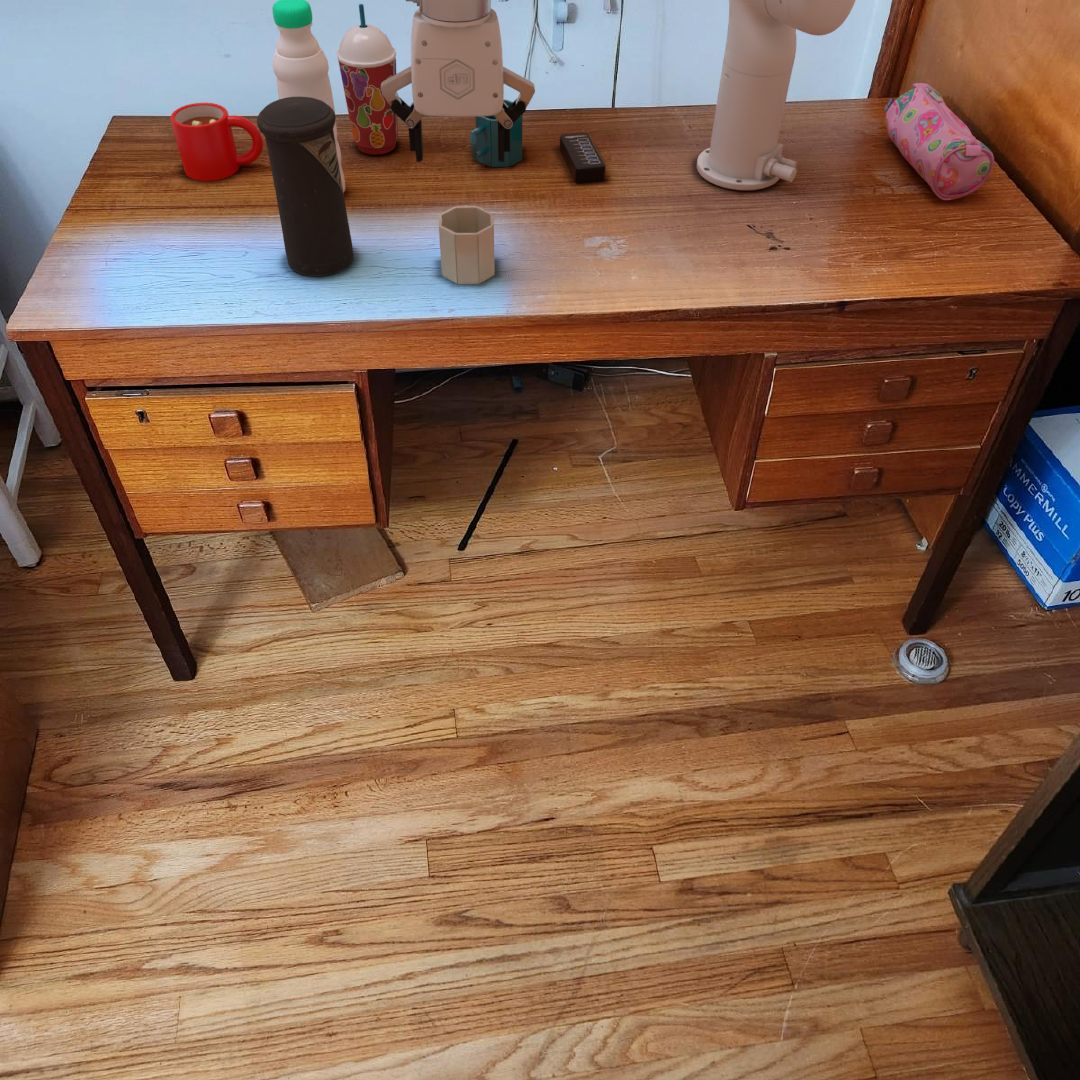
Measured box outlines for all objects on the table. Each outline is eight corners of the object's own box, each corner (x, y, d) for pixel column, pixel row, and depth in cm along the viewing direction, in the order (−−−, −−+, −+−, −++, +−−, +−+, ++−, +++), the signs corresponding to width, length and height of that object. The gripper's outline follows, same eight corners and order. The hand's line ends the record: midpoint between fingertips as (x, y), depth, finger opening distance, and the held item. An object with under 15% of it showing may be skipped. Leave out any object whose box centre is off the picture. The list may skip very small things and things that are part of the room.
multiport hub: (575, 183, 140) (576, 168, 138) (559, 148, 147) (559, 133, 145) (605, 181, 140) (606, 166, 139) (586, 146, 148) (587, 131, 146)
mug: (266, 178, 139) (255, 124, 133) (181, 182, 138) (166, 128, 132) (269, 152, 144) (259, 100, 138) (187, 156, 143) (173, 103, 137)
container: (360, 273, 123) (339, 118, 108) (289, 283, 121) (258, 127, 106) (349, 238, 129) (328, 86, 114) (281, 247, 127) (251, 94, 112)
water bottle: (301, 179, 139) (268, -9, 120) (349, 181, 139) (324, -7, 120) (291, 204, 134) (255, 12, 116) (341, 206, 134) (313, 14, 116)
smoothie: (408, 135, 149) (397, -5, 134) (398, 161, 143) (384, 18, 128) (356, 132, 149) (338, -8, 134) (343, 157, 144) (323, 14, 129)
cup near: (495, 283, 122) (494, 234, 117) (441, 284, 122) (438, 234, 117) (493, 244, 128) (492, 195, 123) (442, 244, 128) (439, 195, 123)
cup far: (496, 141, 148) (495, 95, 143) (530, 155, 145) (531, 108, 140) (455, 163, 143) (453, 116, 138) (490, 178, 140) (489, 131, 135)
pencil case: (874, 136, 152) (890, 78, 145) (930, 135, 152) (949, 77, 146) (921, 205, 137) (942, 144, 131) (982, 204, 138) (1006, 143, 131)
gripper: (370, 12, 98) (385, 171, 111) (538, 14, 99) (534, 172, 112) (375, -14, 103) (389, 142, 116) (535, -12, 104) (531, 142, 117)
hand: (460, 156), depth 114 cm, fingers open, 9 cm apart
